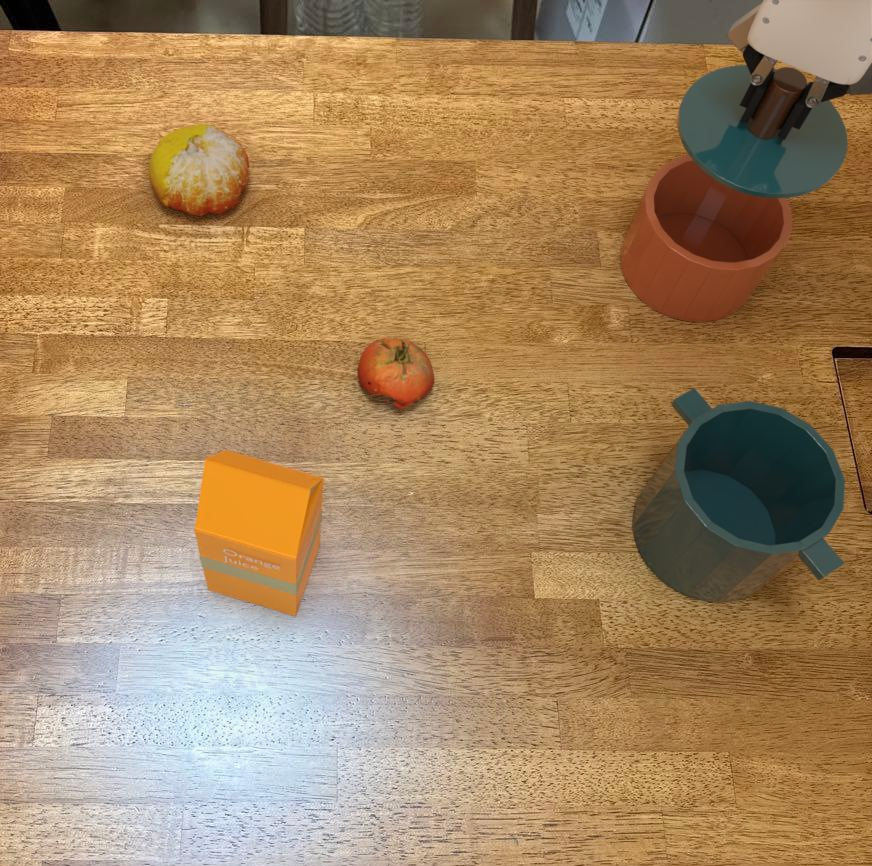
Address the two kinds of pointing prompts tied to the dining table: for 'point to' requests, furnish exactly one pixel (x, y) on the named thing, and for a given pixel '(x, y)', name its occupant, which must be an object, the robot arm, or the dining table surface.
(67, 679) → the dining table surface
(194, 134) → the fruit
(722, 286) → the canister
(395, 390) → the tomato
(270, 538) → the orange juice
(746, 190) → the lid
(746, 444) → the pot
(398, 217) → the dining table surface
